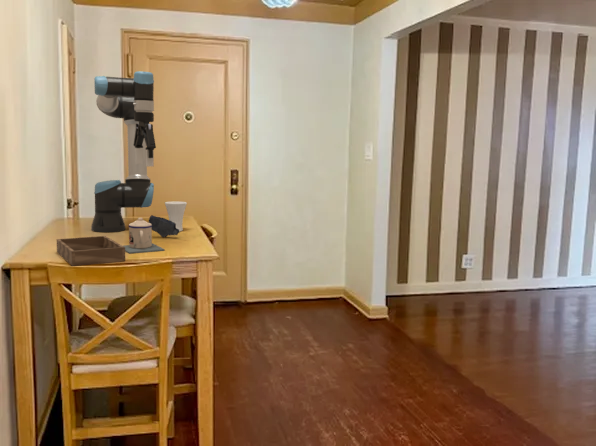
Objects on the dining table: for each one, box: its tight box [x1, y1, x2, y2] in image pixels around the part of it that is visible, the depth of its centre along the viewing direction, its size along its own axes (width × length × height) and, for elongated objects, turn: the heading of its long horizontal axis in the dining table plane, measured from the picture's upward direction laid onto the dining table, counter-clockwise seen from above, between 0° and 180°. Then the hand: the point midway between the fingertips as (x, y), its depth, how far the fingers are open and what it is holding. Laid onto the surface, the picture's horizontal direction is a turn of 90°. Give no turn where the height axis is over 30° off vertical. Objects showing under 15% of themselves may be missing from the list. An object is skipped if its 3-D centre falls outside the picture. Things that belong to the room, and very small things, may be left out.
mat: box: [123, 242, 166, 255], centre depth 221 cm, size 14×14×1 cm
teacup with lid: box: [128, 217, 153, 249], centre depth 220 cm, size 12×9×12 cm
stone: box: [148, 214, 181, 238], centre depth 247 cm, size 14×6×10 cm, turn 102°
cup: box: [164, 200, 188, 232], centre depth 267 cm, size 10×10×14 cm
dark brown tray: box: [56, 235, 126, 267], centre depth 204 cm, size 26×18×5 cm
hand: (144, 165), depth 225 cm, fingers open, 13 cm apart
